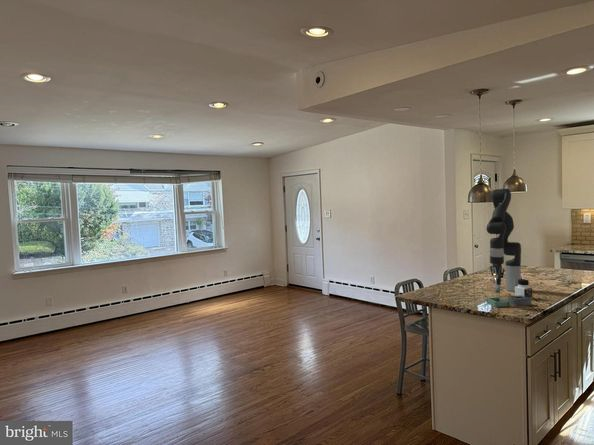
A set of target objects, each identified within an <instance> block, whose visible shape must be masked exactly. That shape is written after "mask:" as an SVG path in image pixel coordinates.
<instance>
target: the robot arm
mask: <svg viewBox="0 0 594 445" xmlns="http://www.w3.org/2000/svg"><path fill="white" fill-rule="evenodd" d="M490 195H491V201H492V205H493V208H494V210H493V212H492V215H491V219H490V220H489V221H488V223H487V225H486V232H487V233H488V234H490V235H498V236H497V237H492V238H490V241H489V245H490V246H489V263H490V264H491V265H490V266H489V269H490V274H491V276H492V278H494V276H493V274H496V275H497V276H496V277H497V285H500V286H501V283H502V281H501V280H502V279H503V278H504V275H505V291H509V292H515V287H516V286H518V280H519V279H522V272H521V270H522V268H521V267H522V266H521V263H522V260H521V259H522V245H521V243H520V242H516V241H515V242H513V241H509V240H508V239H509V236H511V234H512V232H513V230H514V228H515V223H514V219H513V217H512V215H511V214H510V213H509V212H508V211H507V210H508V208H509V205H510V204H511V200H512V192H511V189H510V188H497V189H493V190H492V191H491V192H490ZM505 256H509V257H511V256H513V257H514V258H512V259H509V260H506V261H505ZM503 264H505V269H504V268H503V266H502V265H503ZM493 283H494V284H495V280H494V279H493Z"/></svg>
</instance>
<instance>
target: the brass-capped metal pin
mask: <svg viewBox="0 0 594 445" xmlns="http://www.w3.org/2000/svg"><path fill="white" fill-rule="evenodd" d="M493 276H494V277H493ZM493 276H492V277H493V281H494V280H495V283H494V293H496V294H500V293H501V285H497V277H496V276H497V275H496V274H493Z"/></svg>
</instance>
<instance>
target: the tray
mask: <svg viewBox="0 0 594 445" xmlns="http://www.w3.org/2000/svg"><path fill="white" fill-rule="evenodd" d="M486 303H487V304H488V305H491V307H494V308H510V303H509V302H508V300H506V299H504V298H501V297H486Z"/></svg>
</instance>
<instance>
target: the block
mask: <svg viewBox="0 0 594 445" xmlns="http://www.w3.org/2000/svg"><path fill="white" fill-rule="evenodd" d="M507 301H508V302H509V305H513V306H515V307H526V306H527V307H528V306H532V298H531V299H530V298H528V297H525V296H523V295H521V296H515V295H508V296H507Z"/></svg>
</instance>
